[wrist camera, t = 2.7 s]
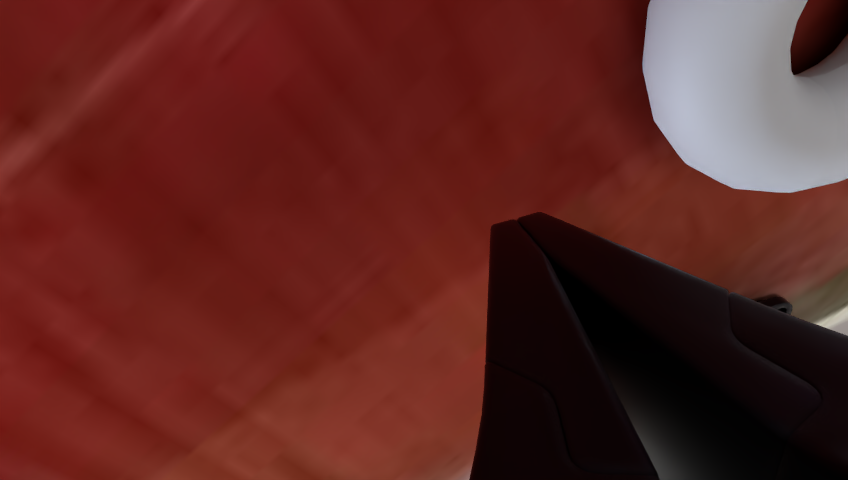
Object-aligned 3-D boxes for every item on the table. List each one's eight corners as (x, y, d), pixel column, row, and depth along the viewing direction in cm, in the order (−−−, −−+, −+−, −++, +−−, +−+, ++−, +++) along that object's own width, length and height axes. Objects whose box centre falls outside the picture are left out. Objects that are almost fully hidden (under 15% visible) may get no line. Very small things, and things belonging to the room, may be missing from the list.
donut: (1008, -297, 13) (601, -149, 12) (1219, -350, 10) (695, -159, 10) (907, 102, 18) (629, 205, 18) (1022, 142, 15) (693, 264, 15)
